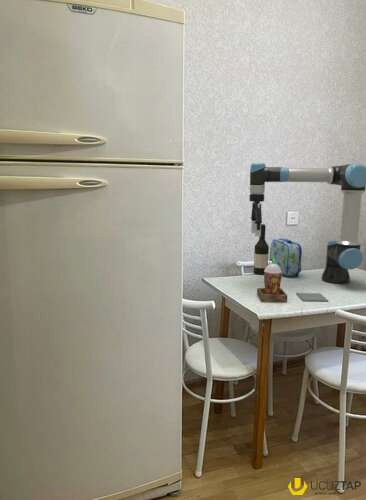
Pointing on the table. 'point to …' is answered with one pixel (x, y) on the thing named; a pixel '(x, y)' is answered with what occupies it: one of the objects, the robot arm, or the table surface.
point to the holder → (271, 296)
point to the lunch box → (286, 256)
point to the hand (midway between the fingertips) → (255, 234)
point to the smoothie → (272, 279)
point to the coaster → (312, 297)
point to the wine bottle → (261, 253)
